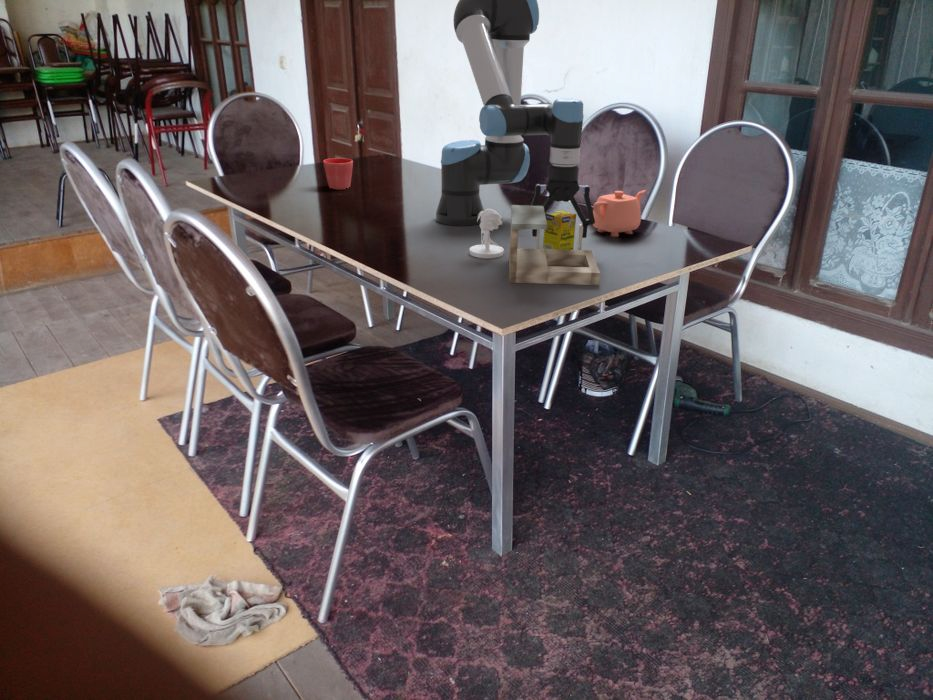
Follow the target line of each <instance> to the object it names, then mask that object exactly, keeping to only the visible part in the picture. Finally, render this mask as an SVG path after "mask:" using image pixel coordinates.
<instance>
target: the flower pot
mask: <svg viewBox="0 0 933 700" xmlns="http://www.w3.org/2000/svg"><path fill="white" fill-rule="evenodd" d="M322 161H323V168H324V173H325V175H326V176H325V177H326V182H327V185H328V187H329V189H331V188H332V190H333V189H335V190H346V188H347V189H349V187H351V182H352V177H353V176H352V173H353V168H354V161H353V159H351V158H345V157H344V158H343V157H342V158H341V157H334V158H333V157H332V158H326V159H324V160H322Z"/></svg>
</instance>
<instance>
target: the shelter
mask: <svg viewBox="0 0 933 700" xmlns="http://www.w3.org/2000/svg"><path fill="white" fill-rule="evenodd" d="M545 214H546V212H544V207H543V205H537V206H531V205H528V204H527V205H525V204H523V205H521V204H520V205H519V204H511V207H510V233H509V253H508V255H509V257H508V263H509V264H508V265H509V267H508V268H509V269H508V271H509V274H508V275H509V283H511V284H512V283H516V284H518V283H519V284H548V285H581V286H584V285H585V286H600V279H601V271H600V269H599V266H598V263H597V261H596V258H595V257H594V252H593V251H592V250H591V249H590V250H589V249H588V250H586V249H581V250H578V249H573V250H557V249H543V248H539V249H536V248H518V246H519V243H518V241H519V230H532V229H540V230H543V231H544V230H547V221H546V216H545Z"/></svg>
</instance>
